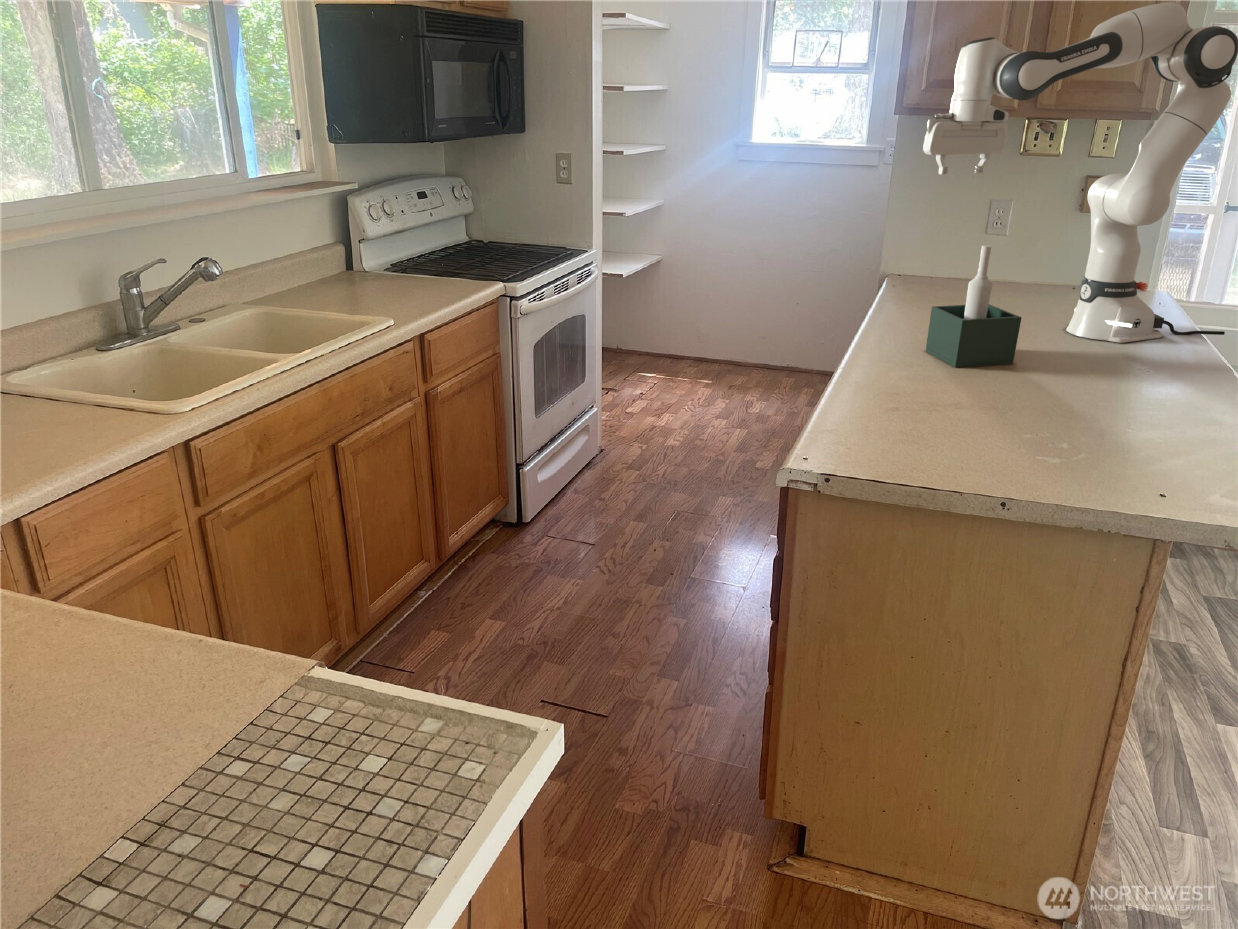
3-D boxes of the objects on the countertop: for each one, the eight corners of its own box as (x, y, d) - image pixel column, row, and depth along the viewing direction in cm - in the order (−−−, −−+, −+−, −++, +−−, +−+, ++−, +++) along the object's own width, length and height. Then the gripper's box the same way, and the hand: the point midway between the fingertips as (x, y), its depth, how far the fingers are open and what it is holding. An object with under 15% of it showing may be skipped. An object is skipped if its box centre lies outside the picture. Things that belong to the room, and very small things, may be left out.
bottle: (982, 356, 203) (1001, 248, 193) (959, 355, 203) (976, 247, 193) (978, 350, 207) (996, 244, 197) (955, 349, 208) (972, 243, 198)
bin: (980, 347, 213) (987, 303, 209) (1013, 363, 201) (1021, 317, 196) (925, 351, 211) (931, 306, 206) (955, 367, 198) (962, 320, 194)
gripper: (935, 113, 203) (927, 175, 209) (1015, 113, 207) (1005, 174, 212) (922, 113, 209) (914, 173, 215) (999, 112, 212) (990, 171, 218)
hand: (960, 173), depth 213 cm, fingers open, 8 cm apart
